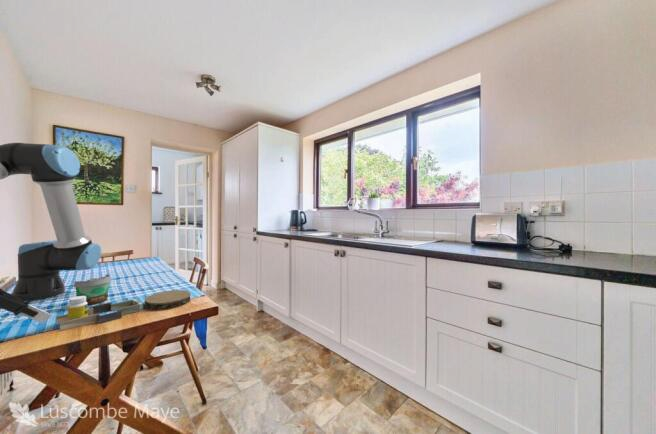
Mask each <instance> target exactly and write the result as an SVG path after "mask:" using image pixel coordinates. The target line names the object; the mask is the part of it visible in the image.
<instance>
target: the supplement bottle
mask: <svg viewBox="0 0 656 434" xmlns="http://www.w3.org/2000/svg"><path fill="white" fill-rule="evenodd" d="M88 309H89V307H88V303H87V302H86V296H77V295H76V296H73V297H70V298H69V303H68V305H67V314H68V321H69V320H73V319H78V318H82V317H86V316H88Z"/></svg>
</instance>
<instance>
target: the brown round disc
mask: <svg viewBox="0 0 656 434" xmlns="http://www.w3.org/2000/svg"><path fill="white" fill-rule="evenodd" d="M190 301H191V292H190V291H189V290H183V289H182V290H181V289H176V290H175V289H173V290H165V291H159V292H156V293H152V294H150V295H148V296H147V297H145V299H144V308H145V309H147V310H151V311H164V310H171V309H175V308H179V307H182V306H184V305H186V304H188V303H190Z"/></svg>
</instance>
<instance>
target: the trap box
mask: <svg viewBox="0 0 656 434" xmlns="http://www.w3.org/2000/svg"><path fill="white" fill-rule="evenodd" d="M143 306H144V305H143V302H141V301H139V300H138V299H136V298H134V299H133V298H132V299H130V300H124V301H119V302H115V303H112V302H104V303H100V304H96V305H91V306H89V307H88V316H86V317H82V318H78V319H73V320H69V321H68V313H65V314H64V313H63V314H61V315H56V316H55V324H56V325H58V324H59V331H60V332H62V331H66V330H69V329H74V328H79V327H83V326H87V325H89V324H93V323H97V324H98V325H100V324H103V323H104V324H105V323H107V322H112V321H115V320H119V319H122V316H124V315H129V314H132V313H137V312H140V311H143V310H144V308H143ZM103 312H104V313H106V314H103ZM107 312H108V313H107ZM99 313H100V314H99Z"/></svg>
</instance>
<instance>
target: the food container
mask: <svg viewBox="0 0 656 434" xmlns="http://www.w3.org/2000/svg"><path fill="white" fill-rule="evenodd" d="M111 281H112V277H111V275H110V274H105V276H103V277H96V278H91V279H87V280H82V281H81V280H80V281H78V280H76V281H74V283H73V286H72V287H74V288H75V294H76V297H77V296H86V302H87V303H88V306H89V307H91V306H96V305H101V304H104V303H106V302H107V301H108V297H109V296H108V295H109V287H110V282H111Z"/></svg>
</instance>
